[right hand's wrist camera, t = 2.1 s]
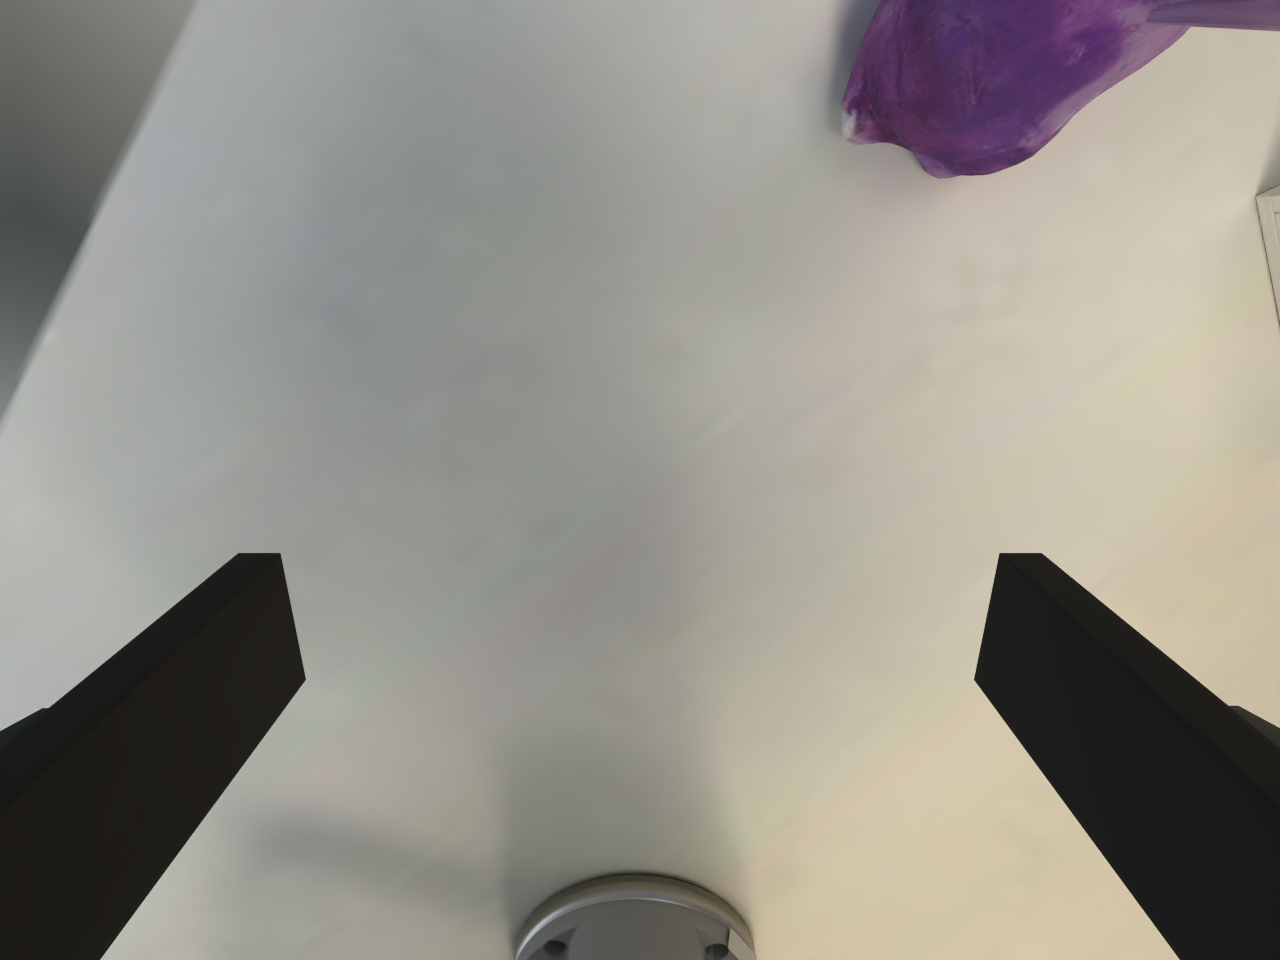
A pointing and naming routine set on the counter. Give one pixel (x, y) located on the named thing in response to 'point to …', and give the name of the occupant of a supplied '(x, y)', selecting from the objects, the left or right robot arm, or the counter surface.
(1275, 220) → the chest
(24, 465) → the counter surface
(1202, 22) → the figurine
